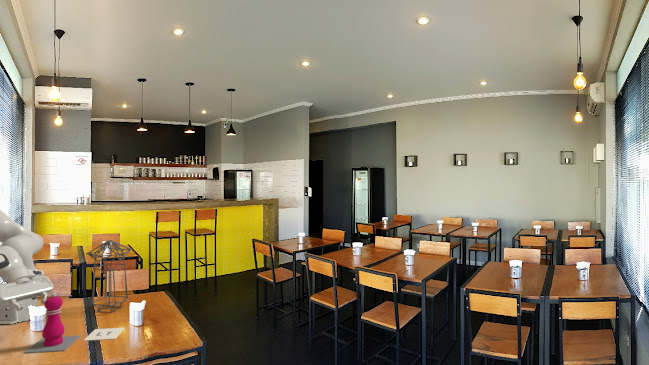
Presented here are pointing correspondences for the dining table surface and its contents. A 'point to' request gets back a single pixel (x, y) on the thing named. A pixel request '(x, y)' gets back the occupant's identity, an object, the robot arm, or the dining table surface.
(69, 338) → the slate mat
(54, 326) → the pepper mill
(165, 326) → the dining table surface
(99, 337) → the white flat square plate
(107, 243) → the geometric lantern
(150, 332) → the dining table surface
